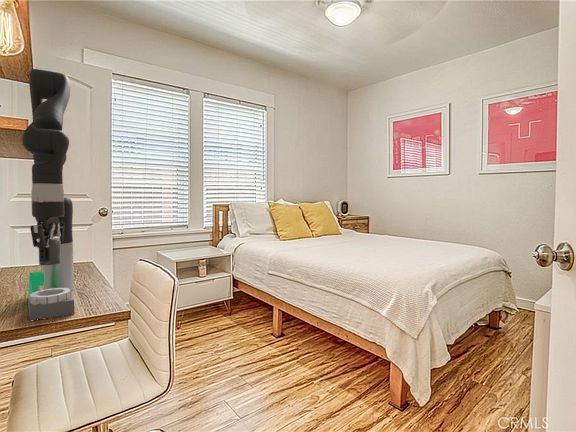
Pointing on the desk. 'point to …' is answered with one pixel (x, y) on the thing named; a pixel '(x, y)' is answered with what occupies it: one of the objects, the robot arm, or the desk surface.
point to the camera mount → (35, 281)
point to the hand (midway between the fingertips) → (49, 259)
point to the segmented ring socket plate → (50, 303)
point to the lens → (53, 252)
